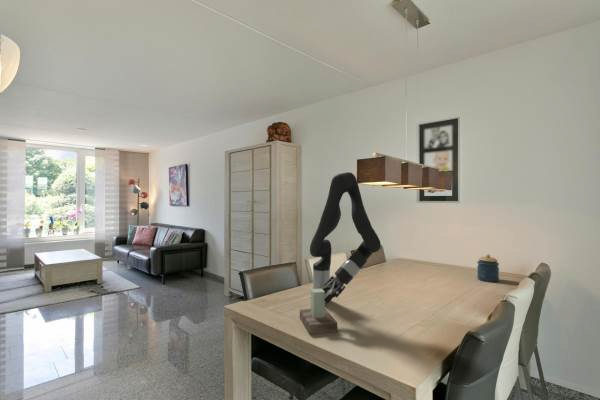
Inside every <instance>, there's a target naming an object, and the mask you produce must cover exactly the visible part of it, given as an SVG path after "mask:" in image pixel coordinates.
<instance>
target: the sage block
mask: <svg viewBox="0 0 600 400" xmlns="http://www.w3.org/2000/svg"><path fill="white" fill-rule="evenodd" d="M324 299H325V291H323V290H322V289H313V288H311V289H310V309H311V315H312V316H313V318H321V317H325V309H326V303H325V301H324Z"/></svg>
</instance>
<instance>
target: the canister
mask: <svg viewBox="0 0 600 400" xmlns="http://www.w3.org/2000/svg"><path fill="white" fill-rule="evenodd" d="M476 263H477V267H476V268H477V275H476V277H477V280H479V281H480V282H481V281H482V282H488V283H499V281H500V268H499V265H500V263H499V262H498V259H496V258H495V257H493V256H492V257H491V255H490V254H486V255H485V256H481V257H479V258H478V261H477V262H476Z"/></svg>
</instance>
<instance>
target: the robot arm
mask: <svg viewBox="0 0 600 400" xmlns="http://www.w3.org/2000/svg"><path fill="white" fill-rule="evenodd" d="M359 187H360V186H359V183H358V180H357V177H356V176H355V174H353V173H352V172H347V171H346V172H342V173H338V174H336V175H334V176H333V177H332V179H331V181H330V186H329V191H328V196H327V199H326V202H325V206H324V209H323V211H322V214H321V217H320V221H319V222H318V223H319V224H318V227H317V229H316V231H315V234H314V235H313V237H312V239H311V242H310V245H309V254H310V255H311V257H313V258H320V259H319V260H318V261H316V262H314V263H313V266H312V269H313V270H312V289H322V290H323V291H325V299H324V301H325V304H329V303H330V302H331V301H332V299H333V298H337V299H338V297H339V296H340V295H341V294H342V292H343V291H344V290H345V289H346V286H345V285H349V284H350V283H351V281H352V280H353V279H354V278H355V277H356V276H357V274H358V273H359V272H360V270H361V269H362V268H363V267H364V266H365V265H366V264H367V262H368V259H369V258H370V257H371V256H372V254H373V253H378V251H380V249H381V247H382V244H381V241H380V238H379V236H378V234H377V232H376V231H375V229H374V228H373V226H372V224H371V221H370V219H369V216H368V214H367V212H366V209H365V206H364V203H363V199H362V195H361V191H360V188H359ZM346 193H347V194H348V195H349V198H350V202H351V203H350V204H351V218H352V222H353V224H354V227H355V228H356V232H357V233H358V235H360V236H361V238H362V242H361V243H360V245H359V246H358V247H357V248H356V250H355V251H354V252H353V253H352V254H351V255H350V256H349V257H348V258H347V259H346V260H345V261H344V262H343V263H342V264H341V265H340V266H339V267H338V268H337V270H336V271H335V272H334V275H335V277H334V276H333V275H331V264H332V244H331V242H330V240H328V239H326V237H328V236H329V235H330V234H331V233H333V232H334V230H335V229H336V228H338V227H337V226H338V225H339V222H340V219H341V217H342V211H341V207H340V206H341V205H340V203H341V199H342V197H343V195H344V194H346Z"/></svg>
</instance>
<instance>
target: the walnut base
mask: <svg viewBox="0 0 600 400" xmlns="http://www.w3.org/2000/svg"><path fill="white" fill-rule="evenodd" d="M299 320H300V321H301V323H302V325H303V326H304V328H305V329H306V331H307V333H308V335H318V334H330V333H337V332H338V321H337V320H336V319H335V318H334V317H333V315H331V312H329V311H328V310H327V309H326V308H325V317H321V318H313V316H312V315H311V308H303V309H301V308H300V309H299Z"/></svg>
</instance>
